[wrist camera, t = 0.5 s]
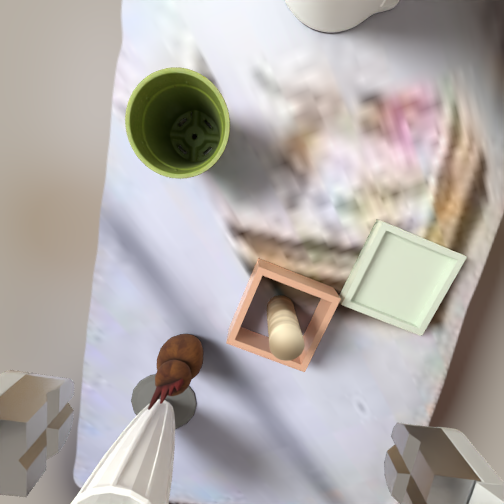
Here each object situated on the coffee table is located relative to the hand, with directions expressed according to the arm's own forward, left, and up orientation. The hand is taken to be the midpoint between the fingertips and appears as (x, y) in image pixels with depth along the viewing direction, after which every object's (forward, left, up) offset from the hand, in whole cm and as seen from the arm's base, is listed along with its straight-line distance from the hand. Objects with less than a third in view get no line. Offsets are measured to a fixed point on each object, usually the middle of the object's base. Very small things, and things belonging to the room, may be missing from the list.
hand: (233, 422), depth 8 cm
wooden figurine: (+24, -2, -44) cm, 50 cm away
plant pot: (-8, -12, -44) cm, 46 cm away
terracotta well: (+12, +10, -44) cm, 46 cm away
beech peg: (+12, +10, -44) cm, 46 cm away
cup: (+36, -2, -44) cm, 57 cm away
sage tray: (0, +25, -44) cm, 50 cm away
